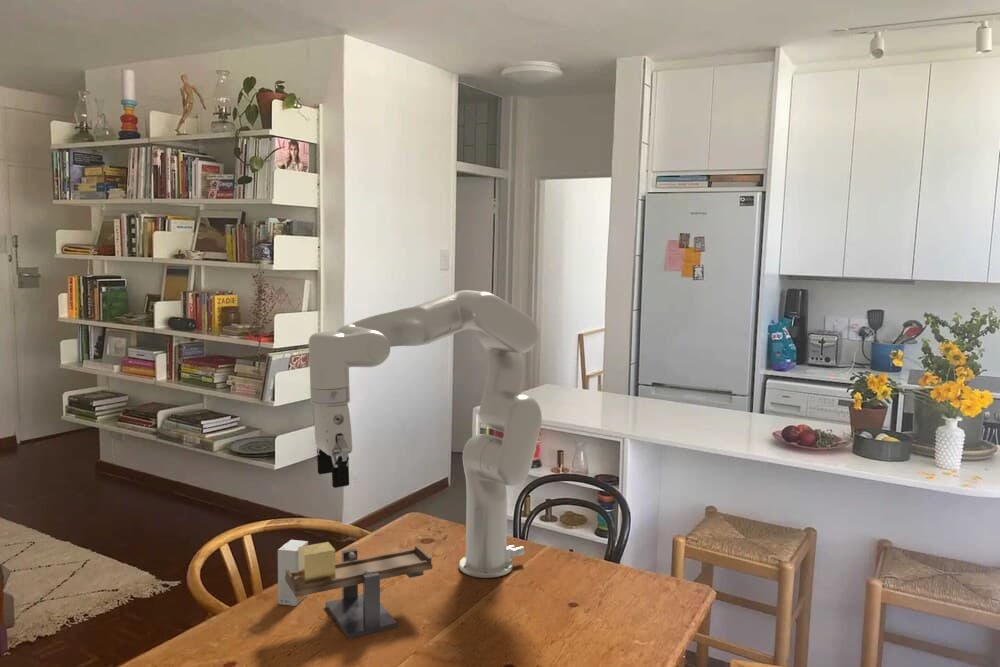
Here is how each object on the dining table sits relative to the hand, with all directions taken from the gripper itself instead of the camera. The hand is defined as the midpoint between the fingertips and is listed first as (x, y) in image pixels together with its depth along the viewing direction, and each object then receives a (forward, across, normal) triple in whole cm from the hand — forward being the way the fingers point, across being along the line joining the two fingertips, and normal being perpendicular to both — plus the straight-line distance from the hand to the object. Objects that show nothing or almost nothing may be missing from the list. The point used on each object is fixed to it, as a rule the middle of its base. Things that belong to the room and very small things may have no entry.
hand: (333, 479), depth 155 cm
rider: (+18, -3, +5) cm, 19 cm away
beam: (+21, -3, -4) cm, 22 cm away
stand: (+29, -3, -4) cm, 29 cm away
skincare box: (+29, +11, +6) cm, 31 cm away
